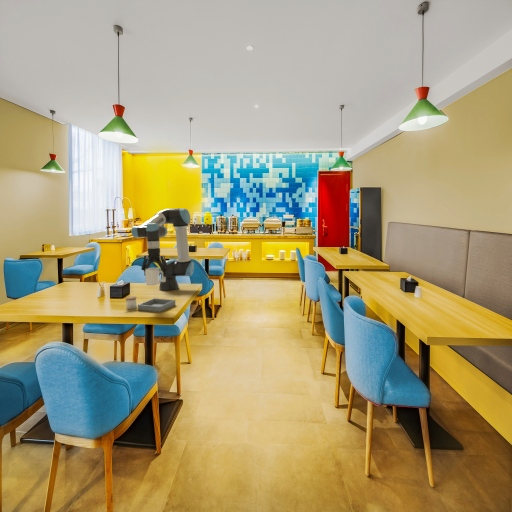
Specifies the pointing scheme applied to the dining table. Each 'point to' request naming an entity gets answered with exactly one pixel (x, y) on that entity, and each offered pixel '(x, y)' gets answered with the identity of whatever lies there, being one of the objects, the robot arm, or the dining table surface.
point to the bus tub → (156, 305)
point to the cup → (152, 276)
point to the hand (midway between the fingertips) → (155, 281)
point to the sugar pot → (131, 302)
